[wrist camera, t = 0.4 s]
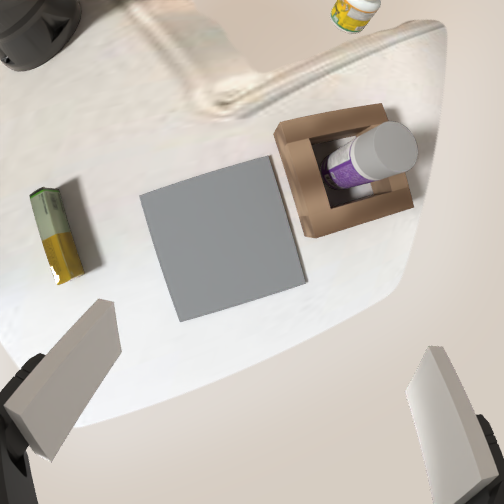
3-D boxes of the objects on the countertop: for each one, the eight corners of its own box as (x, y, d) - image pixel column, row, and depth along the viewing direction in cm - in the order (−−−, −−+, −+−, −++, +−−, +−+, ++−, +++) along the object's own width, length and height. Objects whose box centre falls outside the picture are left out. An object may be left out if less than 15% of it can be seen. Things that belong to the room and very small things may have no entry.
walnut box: (273, 134, 37) (279, 122, 32) (365, 114, 38) (381, 103, 33) (304, 236, 39) (315, 238, 34) (394, 208, 39) (414, 207, 34)
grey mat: (140, 195, 37) (139, 195, 36) (267, 156, 38) (268, 155, 37) (180, 321, 39) (180, 322, 38) (305, 282, 39) (305, 283, 39)
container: (359, 184, 39) (425, 167, 24) (326, 194, 39) (382, 180, 24) (348, 149, 38) (408, 116, 23) (315, 158, 38) (364, 124, 23)
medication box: (44, 195, 36) (27, 194, 32) (58, 187, 36) (43, 184, 32) (70, 280, 37) (56, 286, 33) (86, 274, 37) (72, 279, 33)
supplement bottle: (361, 39, 37) (388, 6, 27) (327, 27, 36) (348, -10, 27) (364, 15, 37) (388, -19, 27) (331, 3, 36) (351, -34, 26)
